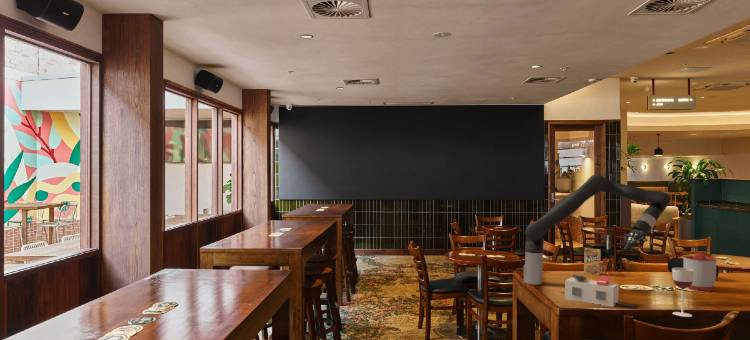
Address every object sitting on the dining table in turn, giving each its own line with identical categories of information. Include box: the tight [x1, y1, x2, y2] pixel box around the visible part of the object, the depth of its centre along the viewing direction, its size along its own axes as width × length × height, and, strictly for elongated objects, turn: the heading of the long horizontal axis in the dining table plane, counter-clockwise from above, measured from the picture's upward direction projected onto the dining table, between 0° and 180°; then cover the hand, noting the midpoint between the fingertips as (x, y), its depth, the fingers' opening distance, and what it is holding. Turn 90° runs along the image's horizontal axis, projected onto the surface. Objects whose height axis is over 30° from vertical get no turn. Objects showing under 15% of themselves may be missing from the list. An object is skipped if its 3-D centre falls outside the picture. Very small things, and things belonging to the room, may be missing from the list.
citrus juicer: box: [682, 251, 718, 292], centre depth 283 cm, size 16×17×20 cm
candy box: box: [583, 247, 602, 276], centre depth 319 cm, size 9×4×15 cm, turn 59°
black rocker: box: [572, 274, 588, 281], centre depth 255 cm, size 4×9×2 cm, turn 143°
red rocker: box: [596, 274, 611, 286], centre depth 249 cm, size 4×9×2 cm, turn 143°
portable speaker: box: [667, 257, 720, 279], centre depth 316 cm, size 26×10×10 cm, turn 35°
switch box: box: [564, 276, 635, 309], centre depth 250 cm, size 30×10×9 cm, turn 53°
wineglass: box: [671, 267, 694, 318], centre depth 231 cm, size 8×9×20 cm
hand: (626, 250), depth 257 cm, fingers closed
